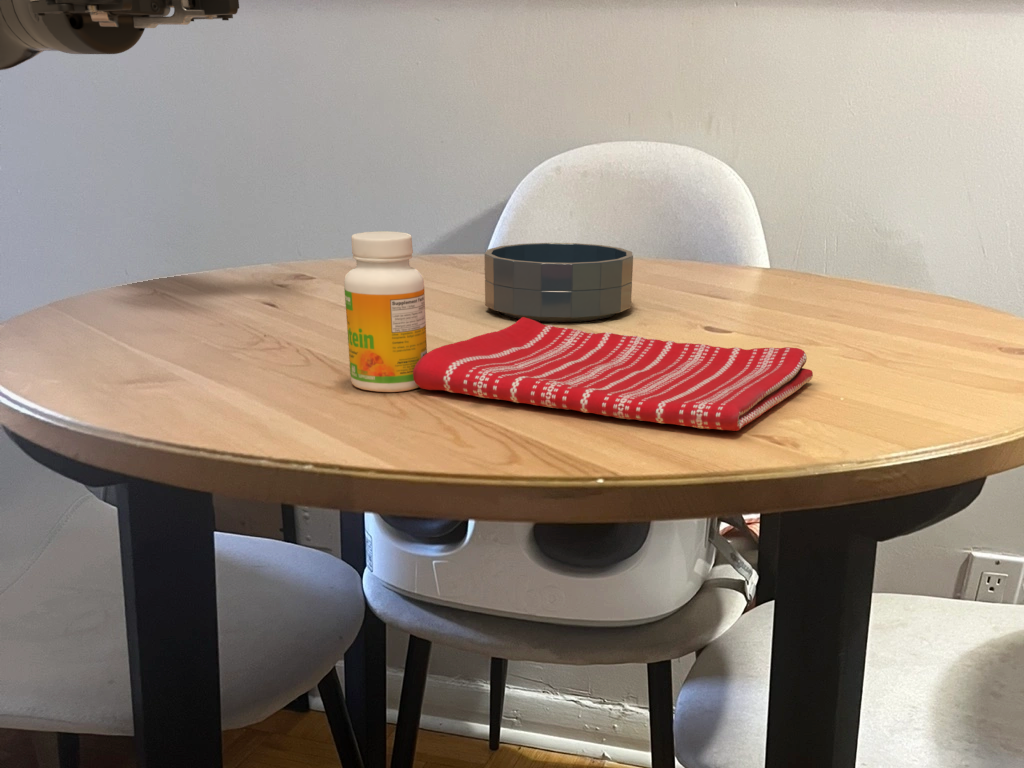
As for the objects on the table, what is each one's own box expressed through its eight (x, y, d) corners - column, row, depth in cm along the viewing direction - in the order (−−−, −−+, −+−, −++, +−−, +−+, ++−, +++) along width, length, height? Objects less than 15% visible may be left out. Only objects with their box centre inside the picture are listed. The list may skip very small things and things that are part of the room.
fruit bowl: (597, 330, 98) (599, 267, 96) (460, 316, 103) (459, 256, 100) (650, 305, 108) (653, 248, 106) (524, 294, 113) (524, 239, 111)
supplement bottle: (336, 382, 81) (324, 233, 76) (399, 371, 84) (391, 227, 79) (379, 397, 78) (370, 242, 73) (443, 385, 81) (438, 235, 76)
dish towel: (523, 348, 92) (523, 313, 90) (814, 383, 82) (819, 344, 81) (403, 394, 78) (401, 354, 77) (733, 442, 69) (737, 397, 68)
